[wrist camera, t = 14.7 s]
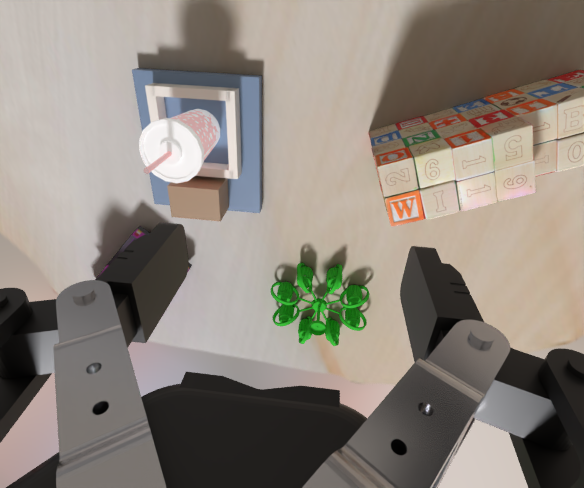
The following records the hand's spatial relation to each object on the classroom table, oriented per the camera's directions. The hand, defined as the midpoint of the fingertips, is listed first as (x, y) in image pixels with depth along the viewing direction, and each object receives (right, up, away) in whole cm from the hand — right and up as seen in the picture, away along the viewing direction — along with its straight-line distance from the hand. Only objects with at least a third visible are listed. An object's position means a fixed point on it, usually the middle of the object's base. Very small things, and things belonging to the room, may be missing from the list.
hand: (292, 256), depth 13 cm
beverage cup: (-11, +14, +29) cm, 34 cm away
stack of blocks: (+20, +13, +28) cm, 36 cm away
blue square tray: (-11, +13, +31) cm, 36 cm away
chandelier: (+4, -7, +42) cm, 43 cm away
